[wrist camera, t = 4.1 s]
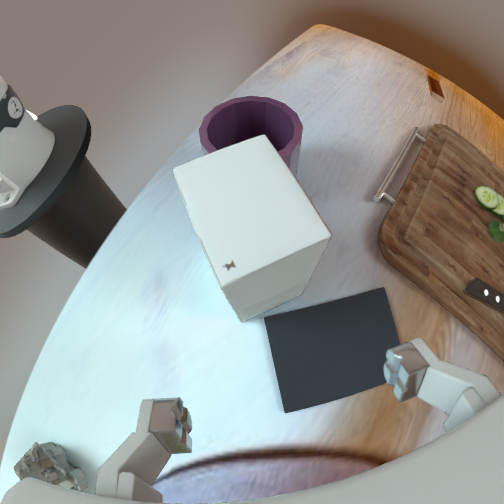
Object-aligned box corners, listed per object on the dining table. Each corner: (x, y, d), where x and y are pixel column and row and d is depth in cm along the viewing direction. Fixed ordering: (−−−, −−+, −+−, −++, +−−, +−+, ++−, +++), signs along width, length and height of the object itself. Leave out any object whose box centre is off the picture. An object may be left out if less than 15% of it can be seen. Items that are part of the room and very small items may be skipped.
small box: (303, 295, 26) (336, 237, 14) (240, 324, 25) (218, 291, 13) (265, 223, 29) (265, 130, 17) (207, 249, 28) (168, 167, 16)
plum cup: (221, 227, 29) (204, 175, 20) (210, 163, 32) (195, 105, 24) (303, 211, 29) (316, 155, 21) (282, 150, 32) (286, 91, 24)
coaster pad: (284, 412, 22) (285, 413, 22) (263, 317, 25) (263, 317, 25) (404, 374, 23) (406, 374, 22) (382, 288, 26) (384, 287, 26)
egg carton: (61, 511, 16) (43, 521, 13) (25, 466, 18) (5, 471, 15) (98, 485, 19) (78, 497, 15) (55, 433, 21) (33, 438, 17)
